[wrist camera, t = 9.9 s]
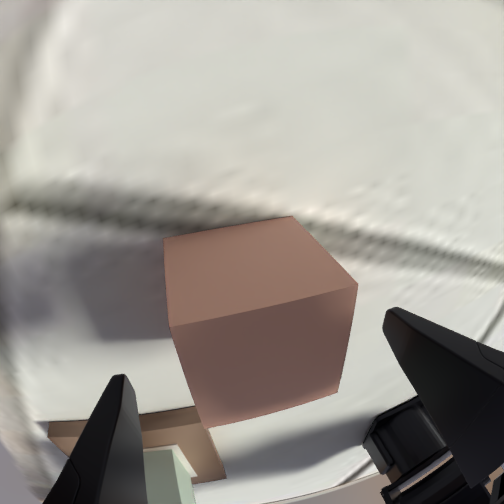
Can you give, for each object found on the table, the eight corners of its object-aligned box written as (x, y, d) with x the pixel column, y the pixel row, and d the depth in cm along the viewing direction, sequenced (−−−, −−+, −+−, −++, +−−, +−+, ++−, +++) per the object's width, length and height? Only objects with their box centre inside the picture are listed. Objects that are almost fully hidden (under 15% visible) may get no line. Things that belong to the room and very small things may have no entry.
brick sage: (189, 475, 19) (203, 533, 14) (127, 481, 18) (134, 538, 13) (171, 448, 16) (185, 520, 12) (99, 455, 15) (102, 524, 11)
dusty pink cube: (291, 215, 12) (358, 284, 8) (291, 313, 15) (337, 392, 11) (163, 237, 11) (168, 326, 7) (186, 336, 14) (204, 429, 10)
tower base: (199, 405, 16) (202, 423, 15) (223, 466, 21) (226, 479, 20) (49, 422, 15) (47, 438, 13) (110, 479, 19) (111, 492, 18)
